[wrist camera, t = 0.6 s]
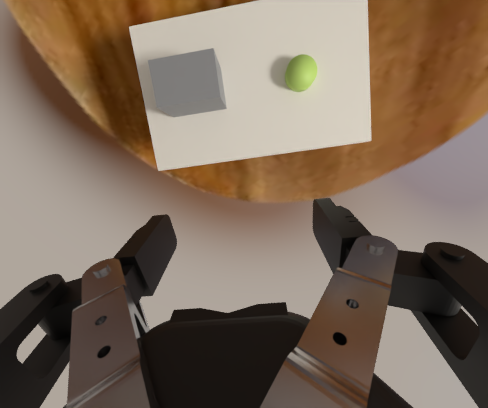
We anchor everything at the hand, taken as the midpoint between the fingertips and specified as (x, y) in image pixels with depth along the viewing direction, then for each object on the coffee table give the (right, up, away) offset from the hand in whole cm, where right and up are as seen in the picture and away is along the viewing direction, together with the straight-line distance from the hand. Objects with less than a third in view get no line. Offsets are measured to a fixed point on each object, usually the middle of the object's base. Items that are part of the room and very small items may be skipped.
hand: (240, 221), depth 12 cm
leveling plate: (+1, +14, +12) cm, 19 cm away
